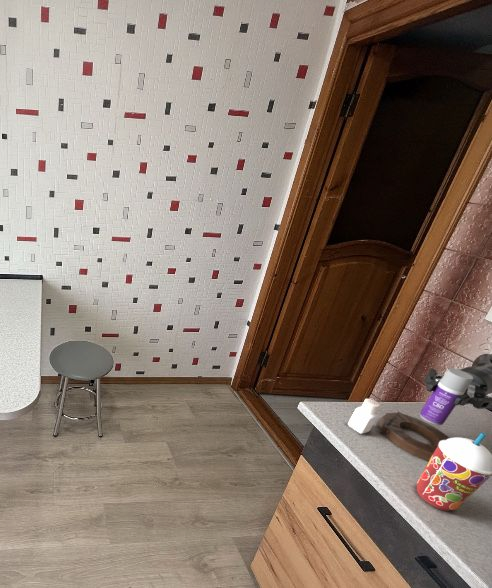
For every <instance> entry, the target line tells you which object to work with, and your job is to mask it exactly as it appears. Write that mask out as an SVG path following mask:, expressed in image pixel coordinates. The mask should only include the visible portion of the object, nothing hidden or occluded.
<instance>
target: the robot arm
mask: <svg viewBox="0 0 492 588" xmlns="http://www.w3.org/2000/svg"><path fill="white" fill-rule="evenodd" d="M460 370H461V371H464V372H466V373H468V374H470V375H471V376H472V377H473V380H472V382H471V383H470V385H469V386H468V388H467V390H466V391H465V393H464V394H463V395H461V396H459V397H458V398H457V399H456V400H455V402H454V403H453V404H455V405H456V406H466V405H472V407H474V408H475V409H478V410H481V409H483V410H484V409H492V396H489V395H490V394H492V353H482V354H480V355H478V356H477V357H476V358H475V359H474V360H473V362H472V364H471V365H470V366H467V367H463V368H460ZM444 375H445V374H440V373H439V372H438V371H437V369H436V368H430V369H429V371H428V373H427V374H426V376H425V378H424V380H423V383H425V384H426V386H425V389H426V391H427V392H429V393H432V392H433V391H434V389H435V388H436V386H437V385H438V383H439V382H440V380H441V379H442V377H443V376H444Z"/></svg>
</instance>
